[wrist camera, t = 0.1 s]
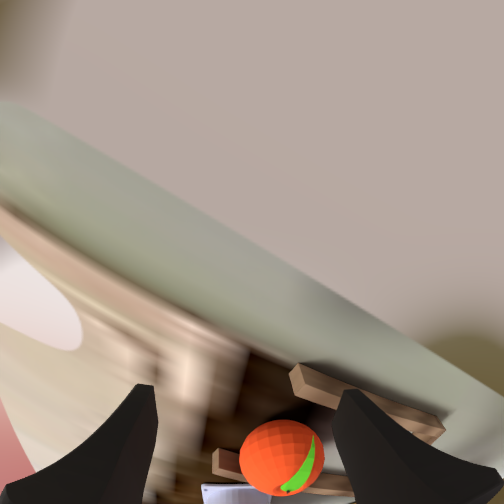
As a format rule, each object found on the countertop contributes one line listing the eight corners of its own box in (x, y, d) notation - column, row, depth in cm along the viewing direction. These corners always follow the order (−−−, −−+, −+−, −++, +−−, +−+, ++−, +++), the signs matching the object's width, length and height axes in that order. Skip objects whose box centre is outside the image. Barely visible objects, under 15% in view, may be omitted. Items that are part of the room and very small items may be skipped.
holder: (436, 416, 27) (446, 430, 24) (358, 482, 29) (364, 497, 27) (298, 362, 22) (305, 384, 20) (212, 453, 25) (212, 473, 22)
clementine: (262, 386, 23) (274, 457, 16) (335, 402, 24) (360, 464, 17) (225, 442, 24) (227, 505, 18) (291, 454, 26) (304, 511, 19)
